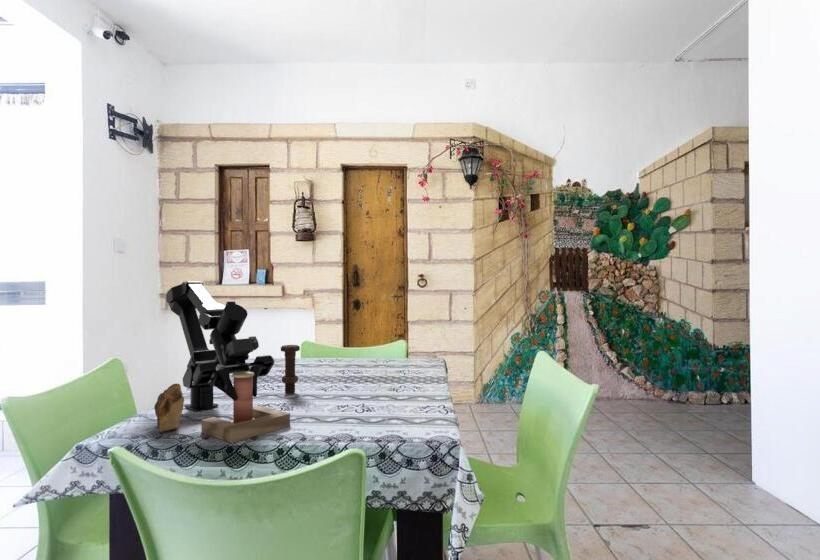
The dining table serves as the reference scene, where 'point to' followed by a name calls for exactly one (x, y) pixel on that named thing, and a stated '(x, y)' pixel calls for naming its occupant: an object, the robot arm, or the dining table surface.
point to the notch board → (246, 425)
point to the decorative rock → (169, 408)
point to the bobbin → (243, 397)
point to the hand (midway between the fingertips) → (245, 397)
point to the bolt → (290, 368)
